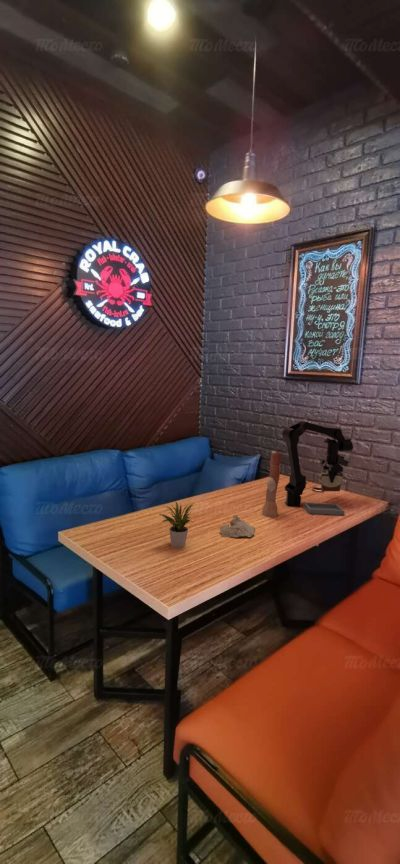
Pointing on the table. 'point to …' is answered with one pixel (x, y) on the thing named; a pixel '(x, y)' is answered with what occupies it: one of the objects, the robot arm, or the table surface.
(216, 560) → the table surface
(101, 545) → the table surface
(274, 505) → the tall figurine
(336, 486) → the food container
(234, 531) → the coral
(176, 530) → the house plant
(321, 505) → the grey tray
